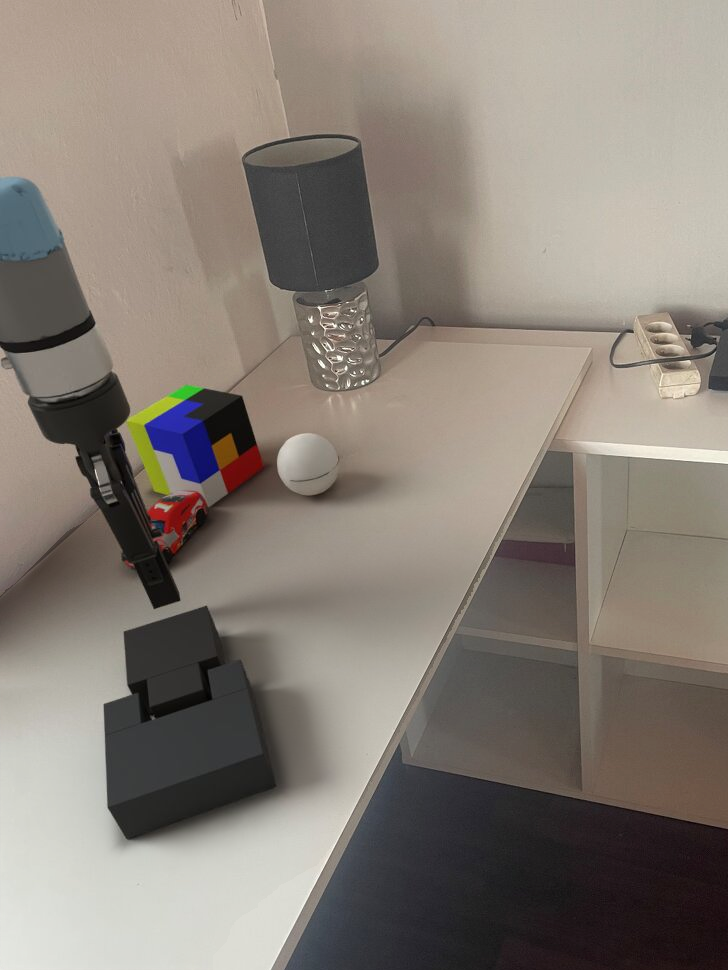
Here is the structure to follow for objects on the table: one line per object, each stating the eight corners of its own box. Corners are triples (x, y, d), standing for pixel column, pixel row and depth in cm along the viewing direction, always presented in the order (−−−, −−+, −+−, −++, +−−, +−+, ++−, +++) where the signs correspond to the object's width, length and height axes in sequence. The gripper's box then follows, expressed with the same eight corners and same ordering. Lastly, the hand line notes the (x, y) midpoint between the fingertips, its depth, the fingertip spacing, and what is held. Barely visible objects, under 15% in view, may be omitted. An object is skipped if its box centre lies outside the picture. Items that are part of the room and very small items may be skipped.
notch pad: (120, 735, 76) (103, 703, 74) (253, 691, 78) (240, 658, 76) (126, 839, 67) (107, 807, 65) (276, 786, 69) (263, 753, 67)
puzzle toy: (208, 507, 105) (182, 433, 99) (154, 491, 110) (125, 420, 104) (264, 467, 111) (242, 395, 105) (210, 453, 116) (186, 384, 110)
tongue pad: (138, 662, 84) (123, 631, 81) (219, 636, 85) (206, 605, 83) (146, 745, 75) (129, 713, 72) (236, 715, 76) (223, 682, 74)
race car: (159, 577, 95) (146, 548, 92) (118, 573, 97) (104, 544, 94) (218, 510, 104) (208, 481, 102) (180, 507, 106) (169, 479, 103)
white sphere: (279, 510, 102) (263, 456, 98) (292, 477, 108) (277, 424, 104) (362, 503, 101) (349, 448, 97) (370, 470, 107) (358, 416, 102)
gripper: (27, 367, 77) (126, 577, 91) (20, 426, 67) (132, 651, 81) (112, 345, 78) (196, 556, 93) (118, 400, 68) (211, 626, 83)
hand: (166, 600), depth 87 cm, fingers closed
